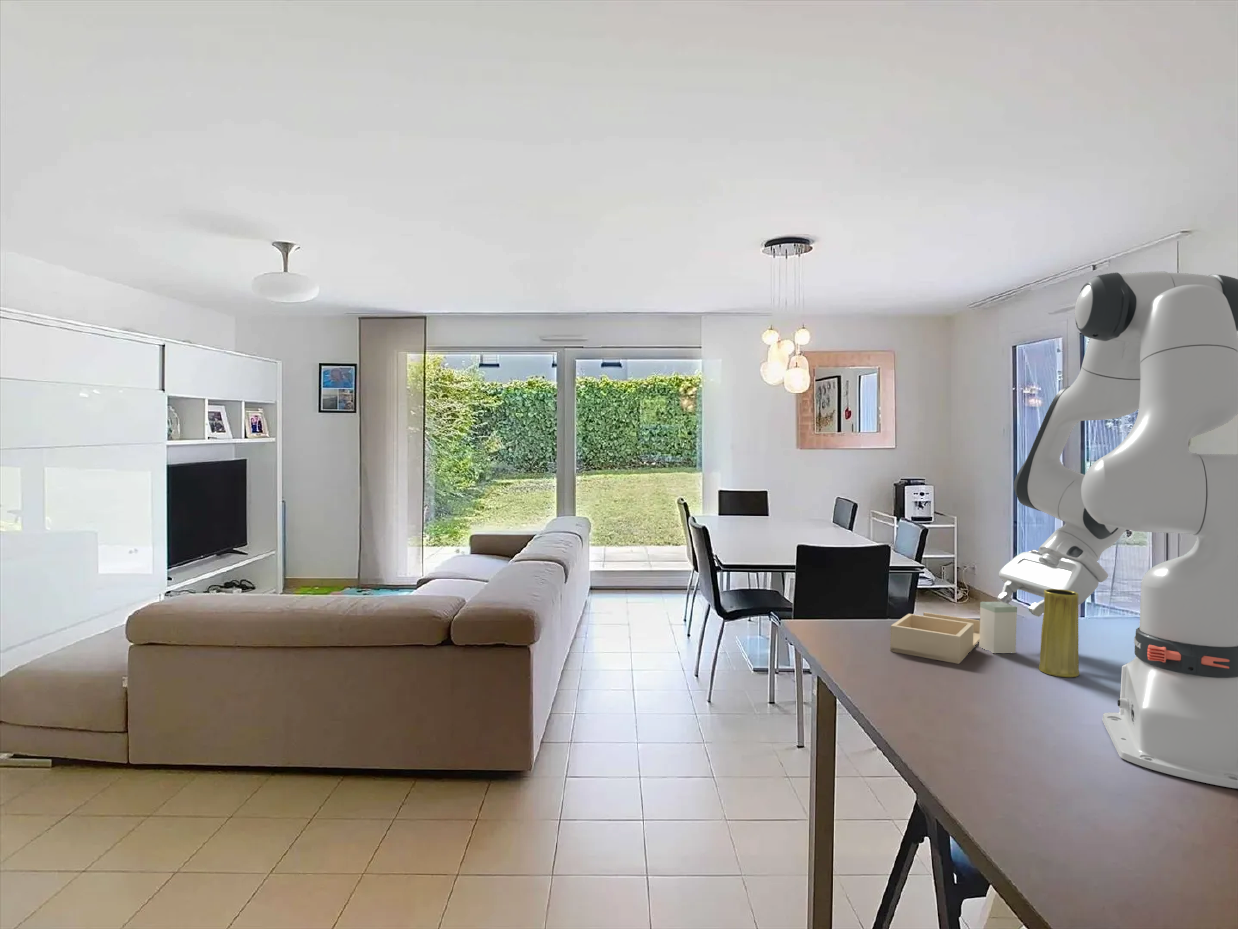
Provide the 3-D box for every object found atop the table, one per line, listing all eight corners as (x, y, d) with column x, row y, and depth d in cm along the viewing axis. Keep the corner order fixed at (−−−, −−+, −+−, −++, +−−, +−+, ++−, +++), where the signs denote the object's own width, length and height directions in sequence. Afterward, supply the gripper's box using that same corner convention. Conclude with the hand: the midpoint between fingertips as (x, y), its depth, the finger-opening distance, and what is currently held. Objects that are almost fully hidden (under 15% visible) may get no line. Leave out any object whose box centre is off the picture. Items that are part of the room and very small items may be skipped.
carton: (1015, 653, 136) (1017, 607, 135) (993, 654, 135) (994, 607, 135) (1000, 646, 140) (1001, 601, 140) (979, 647, 140) (980, 601, 139)
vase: (1067, 667, 127) (1070, 588, 127) (1086, 678, 121) (1089, 596, 121) (1032, 666, 128) (1034, 587, 127) (1049, 677, 122) (1051, 595, 121)
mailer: (959, 663, 129) (959, 636, 129) (890, 651, 136) (890, 625, 136) (985, 635, 148) (985, 611, 148) (923, 625, 156) (924, 603, 155)
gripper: (1019, 538, 148) (974, 585, 148) (1094, 554, 128) (1041, 608, 127) (1039, 559, 149) (993, 606, 148) (1116, 578, 129) (1064, 632, 128)
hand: (1016, 607), depth 138 cm, fingers open, 8 cm apart
